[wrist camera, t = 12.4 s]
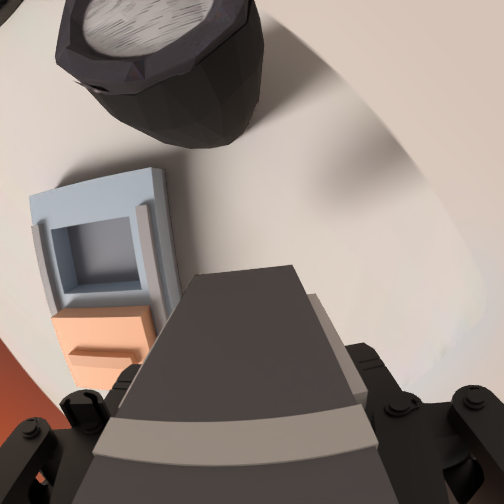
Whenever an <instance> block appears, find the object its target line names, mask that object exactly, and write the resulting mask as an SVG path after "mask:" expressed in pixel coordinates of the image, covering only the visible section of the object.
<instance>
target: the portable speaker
mask: <svg viewBox="0 0 504 504" xmlns="http://www.w3.org/2000/svg"><path fill="white" fill-rule="evenodd" d="M263 52H264V41H263V35H262V28H261V22H260V17H259V14H258V11H257V7H256V4H255V1H254V0H66V2H65V6H64V10H63V15H62V19H61V24H60V29H59V35H58V40H57V47H56V53H55V59H56V64H57V65H59V66H60V67H61V68H63V69H64V70H65V71H67V72H68V73H69V74H71V75H72V76H73V77H75V78H76V79H77V80H79V81H80V82H81V83H82V84H81V83H78V82H76V83H78V84H80V85H82V86H84V87H85V88H86V89H87V90H88V91H89V92H90V93H91V94H92V95H93V96H94V97H95V98H96V99H97V101H98V102H99V103H100V104H101V105H102V106H103V107H104V108H105V109H106V110H107V111H108V112H109V113H110V114H111V115H112V116H113V117H115V118H116V119H118V120H119V121H121V122H123V123H125V124H127V125H129V126H131V127H133V128H135V129H137V130H139V131H141V132H143V133H145V134H147V135H149V136H151V137H153V138H155V139H157V140H159V141H161V142H163V143H165V144H170V145H175V146H180V147H185V148H189V149H202V148H215V147H220V146H225V145H229V144H230V143H231V142H232V141H234V140H235V139H236V138H237V137H238V136H239V135H241V134H242V133H243V131H244V129H245V128H246V127H247V126H248V124H249V121H250V119H251V116H252V114H253V111H254V108H255V106H256V103H257V101H258V102H259V93H260V83H261V73H262V63H263ZM72 81H73V80H72ZM74 82H75V81H74ZM257 104H258V103H257Z"/></svg>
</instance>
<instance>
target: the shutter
mask: <svg viewBox="0 0 504 504" xmlns="http://www.w3.org/2000/svg"><path fill="white" fill-rule="evenodd" d="M51 319H52V322H53V326H54V329H55V332H56V335H57V338H58V340H59V343H60V346H61V349H62V351H63V354H64V357H65V359H66V362H67V364H68V367H69V369H70V372H71V374H72V377H73V379H74V381H75V384H76V386H77V387H84V388H92V389H102V390H111V389H112V386H113V385H114V383H115V382H116V380H117V378H118V377H119V375H120V374H121V372H122V371H123V370H124V369H126V368H127V367H128V366H130V365H131V364H142V363H143V361H144V360H145V358H146V356H147V354H148V353H149V351H150V349H151V347H152V346H153V344H154V342H155V340H156V339H157V334H156V329H155V325H154V321H153V317H152V312H151V308H150V305H143V306H121V307H92V308H63V309H62V310H61V311H59V312H58V313H57V314H55V315H54V316H53V317H51Z"/></svg>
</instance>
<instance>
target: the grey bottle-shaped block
mask: <svg viewBox="0 0 504 504" xmlns="http://www.w3.org/2000/svg"><path fill="white" fill-rule="evenodd" d="M378 444H379V442H378V440H377V438H376V436H375V433H374V431H373V429H372V427H371V424H370V422H369V420H368V418H367V415H366V413H365V411H364V409H363V407H362V404H359V405H357V402H356V400H355V398H354V396H353V393H352V391H351V389H350V387H349V384H348V382H347V380H346V378H345V375H344V373H343V371H342V369H341V367H340V364H339V362H338V360H337V358H336V356H335V354H334V351H333V349H332V347H331V345H330V343H329V341H328V338H327V336H326V334H325V332H324V330H323V328H322V326H321V323H320V321H319V319H318V317H317V315H316V313H315V311H314V309H313V307H312V304H311V302H310V300H309V298H308V296H307V294H306V292H305V290H304V288H303V286H302V284H301V282H300V280H299V277H298V275H297V273H296V271H295V269H294V267H293V265H286V266H277V267H268V268H259V269H250V270H240V271H231V272H221V273H212V274H202V275H195V276H194V278H193V280H192V281H191V283H190V285H189V286H188V288H187V290H186V291H185V293H184V295H183V296H182V298H181V300H180V302H179V303H178V305H177V307H176V308H175V310H174V312H173V314H172V315H171V317H170V319H169V320H168V322H167V324H166V326H165V327H164V329H163V331H162V333H161V334H160V336H159V338H158V340H157V341H156V343H155V345H154V347H153V348H152V350H151V352H150V354H149V355H148V357H147V359H146V361H145V363H144V364H143V366H142V368H141V370H140V372H139V373H138V375H137V377H136V379H135V381H134V383H133V384H132V386H131V388H130V390H129V392H128V394H127V395H126V397H125V399H124V401H123V403H122V405H121V407H120V408H119V410H118V412H117V414H116V416H115V418H113V417H111V418H110V419H109V421H108V423H107V425H106V427H105V429H104V431H103V432H102V434H101V436H100V438H99V440H98V442H97V444H96V446H95V448H94V449H93V451H92V453H93V455H94V456H95V457H94V459H93V461H92V463H91V465H90V467H89V469H88V471H87V473H86V475H85V477H84V479H83V481H82V483H81V485H80V487H79V489H78V491H77V493H76V496H75V498H74V500H73V502H72V504H399V503H398V500H397V498H396V495H395V493H394V490H393V488H392V485H391V483H390V480H389V478H388V475H387V473H386V470H385V468H384V465H383V463H382V461H381V458H380V456H379V453H378V451H377V448H378Z"/></svg>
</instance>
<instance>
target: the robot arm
mask: <svg viewBox="0 0 504 504" xmlns="http://www.w3.org/2000/svg"><path fill="white" fill-rule="evenodd" d="M21 1H22V0H0V26H1V25H2V24H3V23H4V22H5V21H6V19H7V18H8V17H9V16H10V15H11V14H12V13H13V11H14V10H15V9H16V8H17V6H18V5H19V4H20V2H21ZM307 296H308V298H309V300H310V302H311V304H312V307H313V309H314V311H315V313H316V315H317V317H318V319H319V321H320V323H321V326H322V328H323V330H324V332H325V334H326V336H327V338H328V341H329V343H330V345H331V347H332V349H333V351H334V354H335V356H336V358H337V360H338V362H339V364H340V367H341V369H342V371H343V373H344V375H345V378H346V380H347V382H348V384H349V387H350V389H351V391H352V393H353V396H354V398H355V400H356V402H357V405H359V404H362V407H363V409H364V411H365V413H366V415H367V418H368V420H369V422H370V424H371V427H372V429H373V431H374V433H375V436H376V438H377V440H378V442H379V444H378V448H377V451H378V453H379V456H380V458H381V461H382V463H383V465H384V468H385V470H386V473H387V475H388V478H389V480H390V483H391V485H392V488H393V490H394V493H395V495H396V498H397V500H398V503H399V504H504V404H503V403H502V402H501V401H500V400H499V399H498V398H497V397H496V396H495V395H494V394H493V393H492V392H491V391H490V390H488V389H487V388H485V387H482V386H479V385H468V386H464V387H461V388H460V389H458V390H457V391H456V392H455V394H454V395H453V397H452V400H451V402H443V403H422V401H421V399H420V398H418V397H417V396H416V395H414V394H412V393H408V392H405V391H402V390H401V388H400V387H399V385H398V384H397V382H396V381H395V379H394V378H393V376H392V375H391V373H390V372H389V370H388V369H387V367H386V366H385V364H384V363H383V361H382V360H381V359H380V357H379V355H378V354H377V352H376V351H375V350H374V349H373V348H372V347H370V346H368V345H367V344H365V343H358V344H353V345H347V346H344V344H343V343H342V341H341V339H340V337H339V335H338V333H337V331H336V330H335V328H334V326H333V324H332V322H331V320H330V319H329V317H328V315H327V313H326V311H325V309H324V308H323V306H322V304H321V302H320V300H319V299H318V297H317V295H316V293H315V294H307ZM174 310H175V308H174ZM174 310H173V311H172V313H171V315H172V314H173V312H174ZM171 315H170V316H169V318H168V320H169V319H170V317H171ZM168 320H167V321H166V323H165V325H164V327H165V326H166V324H167V322H168ZM164 327H163V328H162V330H161V332H160V333H159V335H158V337H157V339H156V340H155V342H154V344H153V346H152V347H151V349H150V351H149V353H148V354H147V356H146V358H145V360H144V361H143V363H142V364H131V365H130V366H128V367H127V368H126V369H124V370H123V371H122V372H121V374H120V375H119V377H118V378H117V380H116V382H115V383H114V385H113V386H112V389H111V390H110V391H109V393H108V394H107V396H106V398H105V399H104V400H103V398H102V396H101V395H100V393H99V392H96V391H94V390H87V389H85V390H79V391H76V392H73V393H71V394H69V395H68V396H66V397H65V398H63V400H62V401H61V402H60V404H59V405H60V407H61V408H62V410H63V412H64V414H65V416H66V418H67V419H68V421H69V423H70V424H71V426H72V428H71V429H59V430H52V429H51V427H50V425H49V424H48V422H47V421H46V420H45V419H43V418H37V417H34V418H29V419H26V420H25V421H23V422H21V423H20V424H19V425H18V426H17V427H16V428H15V430H14V431H13V432H12V433H11V435H10V436H9V437H8V438H7V440H6V441H5V442H4V443H3V445H2V446H1V447H0V504H72V502H73V500H74V498H75V496H76V493H77V491H78V489H79V487H80V485H81V483H82V481H83V479H84V477H85V475H86V473H87V471H88V469H89V467H90V465H91V463H92V461H93V459H94V457H95V456H94V455H93V453H92V451H93V449H94V448H95V446H96V444H97V442H98V440H99V438H100V436H101V434H102V432H103V431H104V429H105V427H106V425H107V423H108V421H109V419H110V418H111V417H113V418H115V416H116V414H117V412H118V410H119V408H120V407H121V405H122V403H123V401H124V399H125V397H126V395H127V394H128V392H129V390H130V388H131V386H132V384H133V383H134V381H135V379H136V377H137V375H138V373H139V372H140V370H141V368H142V366H143V364H144V363H145V361H146V359H147V357H148V355H149V354H150V352H151V350H152V348H153V347H154V345H155V343H156V341H157V340H158V338H159V336H160V334H161V333H162V331H163V329H164ZM38 472H40V473H41V474H42V476H43V477H44V478H45V480H44V481H43V482H42V483H39V481H38V480H37V479H36V478H35V477H36V475H37V474H38Z"/></svg>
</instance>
